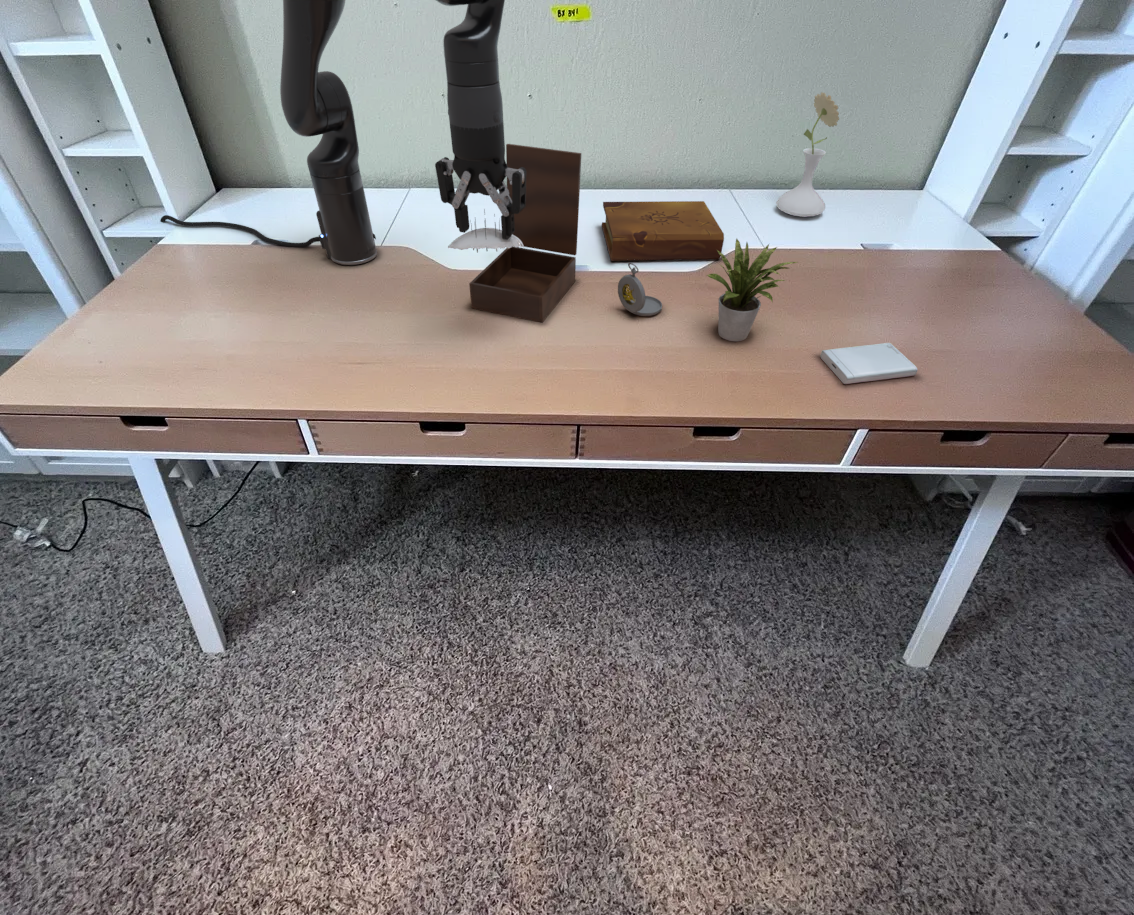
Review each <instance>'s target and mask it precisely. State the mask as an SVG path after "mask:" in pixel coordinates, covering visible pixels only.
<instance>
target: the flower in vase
mask: <svg viewBox="0 0 1134 915" xmlns="http://www.w3.org/2000/svg"><path fill="white" fill-rule="evenodd" d="M813 107H814V108H815V112H816V113H817V119H816V121H815V123H814V125H813V127H812V129H811V131H810V129H808V128H807V129H806V130H805V131H804V132H803V136H805V137H806V138H807V139H808V141H810V142H811V147H807V148H804V149H803V150H802V152H803V155H804V159H805V160H804V170H803V174H802V177H801V181H800V182H799V184H798V185H797V186H795V187H793V188H792V189H790V190H788V191H786V192H785V193H783V194H781V195H780V196H779V197H778V198H777V200H776V203H775V204H776V206H777V208H778V210H780V211H781V212H783V213H785V214H788V215H789V216H790V215H791V216H794V217H801V218H802V217H803V218H806V217H815V216H818V215H821V214H822V213H824V212H825V211H826V204H825V202H824V200H823V198H822V197H821V195H820V194H819V193H818V192H817V191H816V190H815V188H814V186H813V178H814V175H815V171H816V169H817V166H818V164H819V162H820V161H821V159H822V158H823V157H824V156H826V154H827V151H826V150H824V149H821V148H816V147H815V146H814V145H816V144H820V143H821V142H823V141H825V140H827V139H828V136H827V137H824V138H823V139H819V140H817V141H815V142H814V131H815V128H816V126H817V124H818V123H819V121H821V122H823V123H824V125H825V126H828V127H829V128H831V127H833V128H834V127H835V126H837V125H838V122H839V121H840V117H839V115H840V112H839V111H838V109H839V106H838V105H837V104H836V102H835V101H834V99H832V96H831V95H830V94H828V95H827V93H826V92H823V91H821V92H820V94H819V93H817V94H816V95H814V100H813Z"/></svg>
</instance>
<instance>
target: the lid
mask: <svg viewBox="0 0 1134 915" xmlns="http://www.w3.org/2000/svg"><path fill="white" fill-rule="evenodd" d="M505 155H506V156H505V157H506V158H505V162H506V164H507V166H508V168H513V169H519V168H521V167H523V168H525V169H526V207H525V208H524V209H523V210H522V211H520V212H519V213H518V214H514V222H515V231H514V233H513V235H514V236H516V237H518V238H519V239H520V240H521V242H522V243H523V245H524V247H523V248H528V249H533V250H539V251H545V252H551V253H557V254H562V255H568V256H577V253H578V252H577V251H578V232H579V209H580V191H581V190H580V189H581V172H582V171H581V170H582V152H576V151H569V150H561V149H553V148H546V147H545V148H544V147H537V146H531V145H529V146H528V145H522V144H512V143H507V144H505ZM506 187H507V189H508V190H509V196H510V198H511V200H512V185H511V184H510V183H509V178H508V177H507V176H506Z"/></svg>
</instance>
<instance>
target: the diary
mask: <svg viewBox="0 0 1134 915" xmlns="http://www.w3.org/2000/svg"><path fill="white" fill-rule="evenodd" d="M602 207H603V211H604V215H605V222H603V221H602V222H601V229H602V233H603V236H604V240H605V243H606V248H607V251H608V255H609V259H610V262H618V261H619V262H627V261H628V262H629V261H635V262H636V261H704V260H706V261H710V260H711V261H712V260H713V261H714V260H717V261H718V260H720V259H721V258H722V257H721V256H720V254H719V253H718V251H719V252H721V253H723V251H722V250H723V247H724V242H725V234H724V231H723V230H722V228H721V227H720V225H719V224H718V222H717V220H716V219H715V217H714V215H713V214H712V212H711V210H710V209H709V207H708V205H707V204H706V202H705V201H703V200H694V201H693V200H689V201H687V200H682V201H679V200H678V201H677V200H676V201H671V200H670V201H663V200H662V201H602ZM717 250H718V251H717Z"/></svg>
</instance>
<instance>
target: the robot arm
mask: <svg viewBox="0 0 1134 915" xmlns="http://www.w3.org/2000/svg"><path fill="white" fill-rule="evenodd" d="M435 1H436V2H437V3H439V4H441V5H443V6H448V7H457V6H465V5H466V6H467V7H466V11H465V16H464V19H463V20H462V22H460V23H459V24H457V25H456V26H454V27H452V28H450V29H448V30H446V32H445V33H444V35H443V40H442V41H443V42H442V43H443V44H442V45H443V55H444V65H445V74H446V86H447V87H446V90H447V91H446V101H447V114H448V122H449V130H450V140H451V149H452V153H453V155H454V157H453V159H450V158H449V157H448V156H444V157H443V158H441V159H439V160H438V161H437V162H435V164H434V166H435V173H436V178H437V184H438V185H437V186H438V190H439V196H440V201H441V202H442V203H443V204H449V205H451V207H452V208H453V211H454V218H455V219H454V221H455V226H456V228H457V229H458V231H459V233H463V234H465V233H467V232H468V231H469V229H470V218H469V216H470V215H469V208H468V207H469V206H468V204H466V201H467V200H468V197H469V196H470V194H475V195H476V194H481V195H483V196H488V197H490V199H491V201H492V202H493V204H495V205H496V206H497V208H498V210H499V211H500V213H501V216H500V223H501V226H500V227H501V230H502V238H503V239H506V240H508V239H509V238H510V237H511V235H512V234H513V233H514V231H515V222H514V214H518V213H519V212H520V211H522V210H523V209H524V208H525V207H526V169H525V168H523V167H521V168H519V169H513V168H508V166H507V162H506V158H505V157H506V156H505V155H506V144H505V143H506V142H505V127H504V126H505V123H504V108H503V96H502V91H501V84H500V83H501V82H500V68H499V67H500V66H499V52H498V45H499V38H500V32H501V26H502V19H503V14H504V9H505V8H504V7H505V1H506V0H435ZM345 6H346V0H282V11H283V12H282V13H283V16H282V17H283V18H282V20H283V26H282V28H283V30H282V31H283V32H282V34H283V40H282V54H281V55H282V56H281V67H280V68H281V69H280V82H279V83H280V84H279V86H280V87H279V91H280V103H281V108H282V112H283V115H284V118H285V120H286V123H287V124H288V126H289V128H290V129H291V131H293V132H294V133H295V134H297V135H298V136H301V137H304V138H306V137H307V138H308V137H310V138H311V137H315V136H319V135H321V137H320V138H321V139H320V141H319V142H318V143H317V145H316V146H315V147H314V148H313V149H312V150H311V151H310V152H309V153H308V155H307V157H306V164H307V168H308V172H309V176H310V179H311V184H312V187H313V188H312V189H313V192H314V195H315V199H316V202H317V207H318V209H319V210H317V211H316V212H315V214H316V219H317V223H318V226H319V230H320V234H319V235H318V236H315V237H311V238H309V239H308V240H307V241H303V242H289V241H283V240H278V239H273V238H270V237H268V236H265V235H264V234H262V233H261V232H260V231H258V230H257V229H255V228H253V227H249V226H246V225H243V224H239V223H235V222H234V223H232V222H225V221H185V220H184V221H183V220H180V219H178V218H176V217H174V216H171V215H169V214H165V215H163V216H162V217H161V218H160V220H159V222H160V223H165V222H166V220H168V221H171V222H173V223H175V224H177V225H180V226H184V227H226V228H227V227H228V228H233V229H239V230H243V231H246V232H249V233H251V234H253V235H255V236H257V237H258V238H259V239H261V240H262V241H264V242H267V243H269V244H272V245H273V244H274V245H277V246H282V247H289V248H306V247H307V248H308V247H310V246H311V245H312V244H313V243H316V242H319V243H320V246H321V250H325V253H326V257H327V259H330V260H332V262H333V263H335V264H338V265H343V266H356V265H357V266H358V265H362V264H365V263H368V262H371V261H372V260H374V259H375V258H376V257H377V256H378V248H377V247H376V242H375V240H377V237H376V234H374V232H373V227H372V222H371V217H370V212H369V207H368V203H367V198H366V194H365V193H366V192H365V189H364V184H363V178H362V175H361V174H362V173H361V170H360V165H359V156H360V147H359V141H358V135H357V128H356V120H355V115H354V109H353V104H352V100H351V97H350V95H349V91H348V89H347V86H346V85H345V82H344V81H343V80H342V79H341V77H340V76H338V74H336V73H335V72H332V71H330V70H329V71H328V70H324V71H319V67H320V62H321V59H322V56H323V53H324V51H325V49H326V47H327V45H328V43H329V41H330V39H331V37H332V36H333V34H334V32H335V29H336V28H337V26H338V25H339V22H340V20H341V17H342V15H343V12H344V9H345ZM454 172H455V174H456V176H457V177H458V178H459V180H460V181H459V183H458V185H457V188H456V190H455V184H454V179H453V178H454V177H453V174H454ZM507 177H508V178H509V183H510V184H511V185H512V200H511V198H510V196H509V190H508V189H507V184H506V182H505V179H506V178H507Z"/></svg>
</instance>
